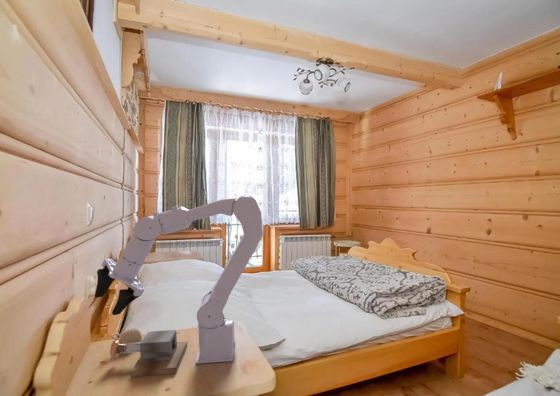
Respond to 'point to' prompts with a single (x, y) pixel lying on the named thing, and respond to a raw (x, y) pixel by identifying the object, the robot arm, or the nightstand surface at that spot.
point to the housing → (159, 354)
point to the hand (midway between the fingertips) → (107, 305)
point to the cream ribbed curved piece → (129, 336)
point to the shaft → (123, 348)
